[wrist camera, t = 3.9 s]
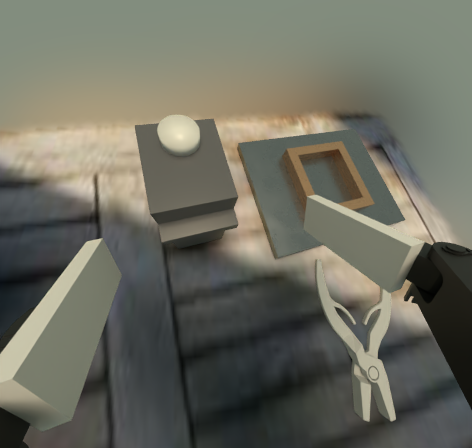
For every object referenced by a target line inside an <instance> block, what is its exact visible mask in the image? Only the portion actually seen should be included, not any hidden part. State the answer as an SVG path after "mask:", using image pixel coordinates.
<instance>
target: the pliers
mask: <svg viewBox="0 0 472 448" xmlns="http://www.w3.org/2000/svg"><path fill="white" fill-rule="evenodd" d="M315 281H316V288H317V293H318V297H319V300H320V304H321V306H322V309H323V312H324V314H325V316H326V319H327V321H328V322H329V324H330V326H331V327H332V329H333V330H334V331H335V332H336V334H337V335H338V336H339V337H340V338H341V340H342V341H343V343H344V345H345V347H346V348H347V350H348V354H349V355H350V357H351V358H352V370H351V374H352V388H353V402H354V412H355V413H356V414H358V415H359V416H360V417H361V418H362V419H363V420H366V421H369V417H370V398H371V389H372V392H373V395H374V398H375V401H376V404H377V407H378V410H379V413H381V414H382V415H383V416H385V417H386V418H387V419H389V420H390V421H393V420H395V419H396V417H395V412H394V407H393V402H392V397H391V392H390V387H389V383H388V378H387V375H386V372H385V369H384V367H383V364H382V361H381V360H379V359H377V357H378V349H379V345H380V342H381V340H382V338H383V336H384V335H385V333H386V331H387V328H388V325H389V321H390V315H391V293H388V292H387V291H386V290H384V289H383V288H381V287H380V301H379V302H378V303H377V304H375V305H373V306H372V307H370V308H369V309H368V311H367V312H366V314H365V316H364V318H363V321H362V324H364V325H366V324H367V321H368V319H369V317H370V315H371V314H372V313H373V312H374V311H375V310H378V313H377V316H376V318H375V320H374V322H373V324H372V326H371V327H370V329H369V331H368V335H367V350H365V351H364V349H363V346H362V344H361V343H360V342H359V340H358V339H357V338H356V337H355V335H354V334H353V333H352V332H351V330H350V329H349V328H348V327H347V325H346V324H345V323H344V322H343V320H342V319H341V318H340V316H339V315H338V314H337V312H336V310H335V308H334V307H337V308H339V309H340V310H342V311H343V312H344V313H345V314H346V316H347V317H348V318H349V320H350V321H351V323H352V324H354V325H355V324H356V323H355V321H354V319H353V318H352V316H351V315H350V313H349V312H348V311H347V310H346V309H345V308H344V307H343V306H341V305H340V304H338V303H336V302H334V301H333V300H332V299H331V298H330V295H329V292H328V289H327V286H326V282H325V278H324V273H323V269H322V263H321V260H319V259H317V260H316V263H315ZM366 378H367V379H368V380H369V382H368V380H367V379H366Z"/></svg>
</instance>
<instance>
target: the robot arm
mask: <svg viewBox="0 0 472 448" xmlns="http://www.w3.org/2000/svg"><path fill="white" fill-rule="evenodd" d="M303 230H305V231H306V232H307V233H309V234H310V235H312V236H313V237H314V238H316V239H317V240H318V241H320V242H321V243H322V244H324V245H325V246H326V247H328V248H329V249H330V250H332V251H333V252H334V253H336V254H337V255H338V256H340V257H341V258H342V259H344V260H345V261H346V262H348V263H349V264H351V265H352V266H353V267H355V268H356V269H357V270H359V271H360V272H361V273H363V274H364V275H365V276H367V277H368V278H369V279H371V280H372V281H373V282H375V283H376V284H377V285H379V286H380V287H381V288H383V289H384V290H386V291H387V292H388V293H391V292H394V291H396V290H399V289H401V288H402V286H403V284H404V282H405V280H406V279H407V280H408V281H410V282H412V284H411V285H410V287H409V289H408V291H407V293H406V295H405V296H404V301H408V300H409V298H410V296H414V298H413V299H412V303H416V304H418V306H419V308H420V310H421V312H422V314H423V316H424V318H425V320H426V322H427V323H428V325H429V327H430V329H431V331H432V333H433V335H434V337H435V339H436V341H437V343H438V345H439V347H440V349H441V351H442V353H443V355H444V357H445V359H446V361H447V363H448V364H449V366H450V368H451V370H452V372H453V374H454V376H455V378H456V380H457V382H458V384H459V386H460V388H461V390H462V392H463V394H464V396H465V398H466V400H467V402H468V404H469V405H470V407H471V409H472V250H470V249H468V248H465V247H463V246H459V245H456V244H452V243H447V242H437V243H434V244H433V245H430V244H428V243H425V242H424V241H421V240H419V239H417V238H414V237H412V236H410V235H408V234H405V233H403V232H401V231H398V230H396V229H394V228H392V227H389V226H387V225H385V224H382V223H380V222H378V221H376V220H373V219H371V218H369V217H366V216H364V215H362V214H359V213H357V212H355V211H353V210H350V209H348V208H346V207H343V206H341V205H339V204H337V203H334V202H332V201H330V200H327V199H325V198H323V197H321V196H318V195H312V196H307V203H306V211H305V220H304V228H303ZM121 276H122V275H121V273H120V271H119V269H118V267H117V265H116V263H115V261H114V259H113V257H112V255H111V253H110V252H109V250H108V248H107V246H106V244H105V242H104V240H103V238H102V239H97V240H92V241H87V242H86V243H85V244H84V246H83V247H82V248H81V250H80V251H79V252H78V254H77V255H76V256H75V257H74V259H73V260H72V261H71V263H70V264H69V265H68V267H67V268H66V269H65V270H64V272H63V273H62V274H61V276H60V277H59V278H58V280H57V281H56V282H55V283H54V285H53V286H52V287H51V289H50V290H49V291H48V293H47V294H46V295H45V296H44V298H43V299H42V300H41V302H40V303H39V304H38V306H37V307H35V308H32V309H29V310H28V311H27V312H26V313H25V314H24V315H22V316H21V317H20V318H19V319H18V320H16V321H15V322H14V323H13V324H12V325H11V327H10V328H9V329H8V330H7V331H6V333H5V334H4V335H3V336H2V340H0V448H29V447H28V446H27V445H26V444H25V443H24V442H23V439H24V436H25V434H26V432H27V430H28V428H29V426H30V425H31V426H33V427H34V428H36V429H38V430H40V431H42V432H43V431H45V430H48V429H50V428H53V427H55V426H58V425H60V424H63V423H65V422H68V421H70V420H72V418H73V415H74V412H75V409H76V406H77V403H78V400H79V398H80V395H81V392H82V389H83V386H84V383H85V380H86V377H87V374H88V371H89V369H90V366H91V363H92V360H93V357H94V354H95V351H96V348H97V345H98V343H99V340H100V337H101V334H102V331H103V328H104V325H105V322H106V319H107V317H108V314H109V311H110V308H111V305H112V302H113V299H114V296H115V293H116V291H117V288H118V285H119V282H120V279H121Z"/></svg>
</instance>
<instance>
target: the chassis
mask: <svg viewBox="0 0 472 448" xmlns="http://www.w3.org/2000/svg"><path fill="white" fill-rule="evenodd" d="M237 149H238V152H239V155H240V157H241V160H242V163H243V166H244V169H245V172H246V175H247V178H248V181H249V184H250V187H251V190H252V193H253V196H254V199H255V201H256V204H257V207H258V210H259V213H260V216H261V219H262V222H263V225H264V228H265V231H266V234H267V237H268V240H269V243H270V245H271V248H272V251H273V254H274V257H275V259H276V258H280V257H283V256H286V255H290V254H293V253H296V252H300V251H303V250H306V249H310V248H313V247H316V246H320V245H323V244H322V243H321V242H320V241H318V240H317V239H316V238H314V237H313V236H312V235H310V234H309V233H307V232H306V231H305V230H303V228H304V220H305V211H306V203H307V196H312V195H318V196H321V197H323V198H325V199H327V200H330V201H332V202H334V203H337V204H339V205H341V206H343V207H346V208H348V209H350V210H353V211H355V212H357V213H359V214H362V215H364V216H366V217H369V218H371V219H373V220H376V221H378V222H380V223H382V224H385V225H390V224H394V223H397V222H400V221H404V220H405V218H404V217H403V215H402V213H401V211H400V209H399V208H398V206H397V204H396V202H395V200H394V199H393V197H392V195H391V193H390V191H389V190H388V188H387V186H386V184H385V182H384V181H383V179H382V177H381V175H380V173H379V172H378V170H377V168H376V166H375V164H374V163H373V161H372V159H371V157H370V155H369V154H368V152H367V150H366V148H365V146H364V145H363V143H362V141H361V139H360V137H359V136H358V134H357V132H356V130H355V129H351V130H342V131H334V132H326V133H318V134H310V135H301V136H293V137H285V138H277V139H269V140H260V141H252V142H244V143H239V144H238V148H237Z"/></svg>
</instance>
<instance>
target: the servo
mask: <svg viewBox="0 0 472 448" xmlns="http://www.w3.org/2000/svg"><path fill="white" fill-rule="evenodd" d="M135 130H136V136H137V142H138V148H139V153H140V159H141V165H142V170H143V176H144V182H145V187H146V193H147V199H148V205H149V210H150V214H151V216H152V217H153V218H154V219H155V221H156V222H157V223H158V225H159V231H160V236H161V242H162V243H163V244H164V245H166V244H170V243H174V244H175V245H176V247H177V248H178V249H180V248H184V247H188V246H192V245H196V244H200V243H204V242H208V241H212V240H216V239H221V238H222V236H223V234H224V231H225V230H228V229H233V228H237V226H238V221H237V218H236V214H235V211H234V206H235V203H236V201H237V198H238V195H237V192H236V189H235V185H234V182H233V179H232V176H231V173H230V170H229V166H228V163H227V160H226V157H225V154H224V151H223V147H222V144H221V141H220V138H219V135H218V132H217V128H216V125H215V122H214V119H205V120H192V119H191V118H189V117H187V116H183V115H171V116H168V117H166V118H164V119H163V120H162V121H161V122H160V123H158V124H146V125H135Z"/></svg>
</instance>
